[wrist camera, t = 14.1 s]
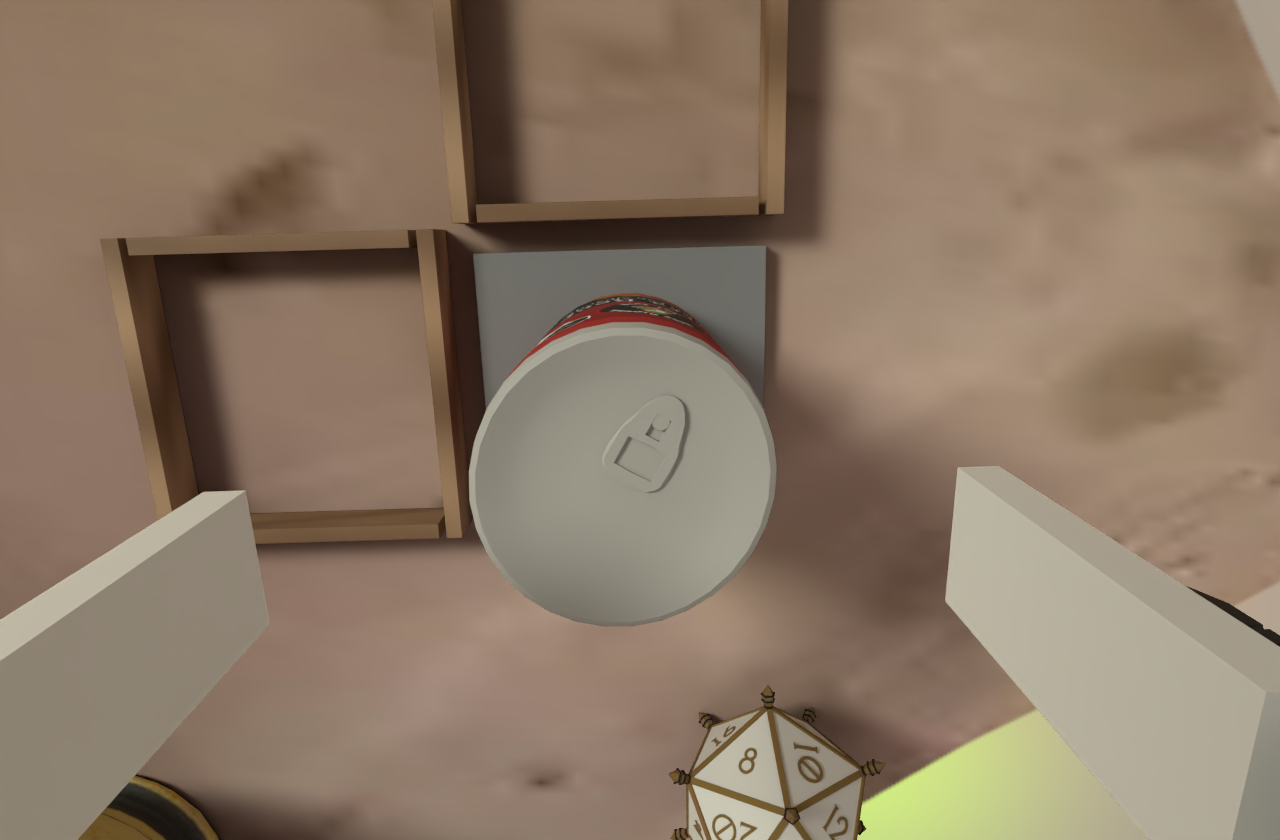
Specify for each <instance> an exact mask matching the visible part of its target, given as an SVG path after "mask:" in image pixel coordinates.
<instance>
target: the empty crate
mask: <svg viewBox="0 0 1280 840" xmlns="http://www.w3.org/2000/svg"><path fill="white" fill-rule="evenodd" d="M432 6H433V17H434V28H435V39H436V51H437V62H438V73H439V84H440V96H441V107H442V118H443V129H444V141H445V152H446V163H447V174H448V186H449V197H450V208H451V219H452V223H458V224H479V223H516V222H551V221H586V220H621V219H656V218H690V217H725V216H752V215H757V214H758V216H760V215H778V214H784V184H785V135H786V87H787V38H788V0H761V43H760V125H759V197H726V198H691V199H656V200H621V201H586V202H551V203H516V204H481V205H478V202H477V189H476V177H475V164H474V152H473V139H472V127H471V114H470V102H469V89H468V77H467V64H466V52H465V39H464V27H463V14H462V2H461V0H432Z"/></svg>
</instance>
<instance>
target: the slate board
mask: <svg viewBox="0 0 1280 840" xmlns="http://www.w3.org/2000/svg"><path fill="white" fill-rule="evenodd" d="M473 260H474V272H475V284H476V296H477V308H478V320H479V332H480V344H481V356H482V368H483V380H484V392H485V405H486V410H487V407H488V406H489V404H490V402H491V401H492V399H493V398H494V396H495V395H496V393H497V392H498V390H499V389H500V387H501V385H502V384H503V382H504V381H505V380H506V379H507V378H508V376H509V374H510V373H511V372H512V371H513V370H514V368H515V367H516V366H517V365H518V364H519V363H520V362H521V361H522V360H523V359H524V358H525V357H526V355H527V354H528V353H529V352H530V351H531V350H532V349H533V348H534V347H535V346H536V345H537V343H538V342H539V341H540V340H541V339H542V338H543V337H544V336H545V335H546V334H547V333H548V332H549V330H550V329H551V328H552V327H553V326H554V325H555V324H556V323H557V322H558V321H559V320H560V319H561V318H562V317H564V316H565V315H567V314H568V313H569V312H571V311H572V310H574V309H575V308H577V307H578V306H580V305H582V304H585V303H587V302H589V301H592V300H594V299H596V298H599V297H604V296H609V295H613V294H618V293H639V294H644V295H649V296H654V297H659V298H661V299H663V300H666V301H668V302H670V303H673V304H675V305H677V306H679V307H680V308H681V309H683V310H684V311H686V312H687V313H688V314H690V315H691V316H693V317H694V318H695V319H696V320H697V322H698V323H699V324H700V325H701V326H702V327H703V328H704V329H705V330H706V331H707V332H708V334H709V335H710V336H711V337H712V338H713V339H714V340H715V342H716V343H717V344H718V345H719V346H720V347H721V348H722V350H723V351H724V352H725V353H726V354H727V355H728V356H729V358H730V359H731V360H732V361H733V362H734V363H735V365H736V366H737V367H738V368H739V369H740V370H741V371H742V373H743V375H744V376H745V378H746V379H747V380H748V382H749V384H750V385H751V387H752V389H753V390H754V392H755V394H756V395H757V397H758V399H759V400H760V402H761V404H762V406H763V409H764V352H765V284H766V245H753V246H718V247H683V248H649V249H614V250H579V251H544V252H510V253H476V254H473Z"/></svg>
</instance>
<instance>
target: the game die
mask: <svg viewBox="0 0 1280 840" xmlns="http://www.w3.org/2000/svg"><path fill="white" fill-rule="evenodd" d="M761 695H762V699H761V700H762V701H763V702H764V706H763V707H761V708H758V709H755V710H753V711H750V712H747V713H745V714H742V715H739V716H737V717H734V718H731V719H728V720H726V721H723V722H720V723H718V724H715V725H714V724H713V723H712V718H710V717H709V714H703V713H699V719H700V721H699V723H701V724H702V726H703V727H705V728H707V729H708V731H707V734H706V736H705V738H704V740H703V743H702V745H701V747H700V749H699V752H698V754H697V756H696V758H695V761H694V763H693V765H692V767H691V770H690V772H689V774H686V773H685V772H684V770H682V771H680V770H679V769H678V768H677V769H676V770H675V771H673V772H671V773H669V776H670V777H671V778H672V780H673V781H674V784H676V783H679V785H682V784H686V810H687V828H686V829H684V828H679V830H678V829H675V830H674V831H675V832H674V833H673V835H672V837H671V838H670V839H672V840H686V839H687V838H688V837H690V839H691V840H857V835H858V834H859V835H860V834H861V833H862V832H863V831H865V830H866V828H865V826H864V825H863V822H862V821H860V813H861V806H862V799H863V792H864V785H865V777H866V775H872V776H874V774H876V773H877V774H880V771H881V770H882V768H883V767H884V765H885V763H882V762H878V761H875V760H874V759H872V761H871V762H868V761H867V764H865V765H864V766H861V765H859V764H858V763H857V762H856V761H855V760H853V759H852V758H851V757H850V756H849V755H847V754H846V753H845V752H844V751H842V750H841V749H840V748H839V747H838V746H836V745H835V744H834V743H833V742H832V741H830V740H829V739H828V738H827V737H826V736H824V735H823V734H822V733H821V732H820V731H818V730H817V729H816V728H815V727H814V726H812V725H811V724H810V723H811V722H814V718H816V715H815V713H814V709H813V707H812V708H809V709H805V713H804V714H803V719H804V720H803V719H800V718H798V717H796V716H794V715H791V714H789V713H787V712H785V711H783V710H780V709H778V708H776V707H774V706H773V705H772V704H773V703H774V700H775V698H774V695H775V692H773V691H772V690H771V688H770V687H769V686H768V685H767V687H766V688H765V690H764V691H763V692H762V693H761Z"/></svg>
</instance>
